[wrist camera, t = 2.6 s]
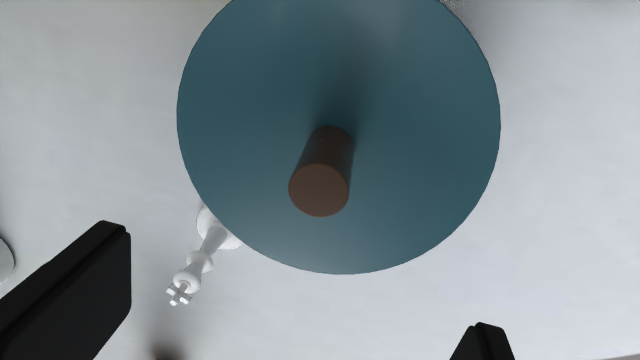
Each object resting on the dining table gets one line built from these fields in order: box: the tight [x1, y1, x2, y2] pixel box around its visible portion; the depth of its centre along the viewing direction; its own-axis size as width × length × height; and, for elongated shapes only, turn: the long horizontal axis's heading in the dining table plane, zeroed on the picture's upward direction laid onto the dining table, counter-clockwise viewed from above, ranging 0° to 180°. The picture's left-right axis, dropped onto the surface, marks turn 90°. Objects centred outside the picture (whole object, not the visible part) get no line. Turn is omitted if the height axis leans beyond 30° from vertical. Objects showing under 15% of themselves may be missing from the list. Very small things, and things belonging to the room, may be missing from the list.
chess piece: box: [166, 205, 244, 306], centre depth 30 cm, size 5×5×10 cm
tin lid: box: [177, 0, 501, 274], centre depth 19 cm, size 17×17×6 cm
